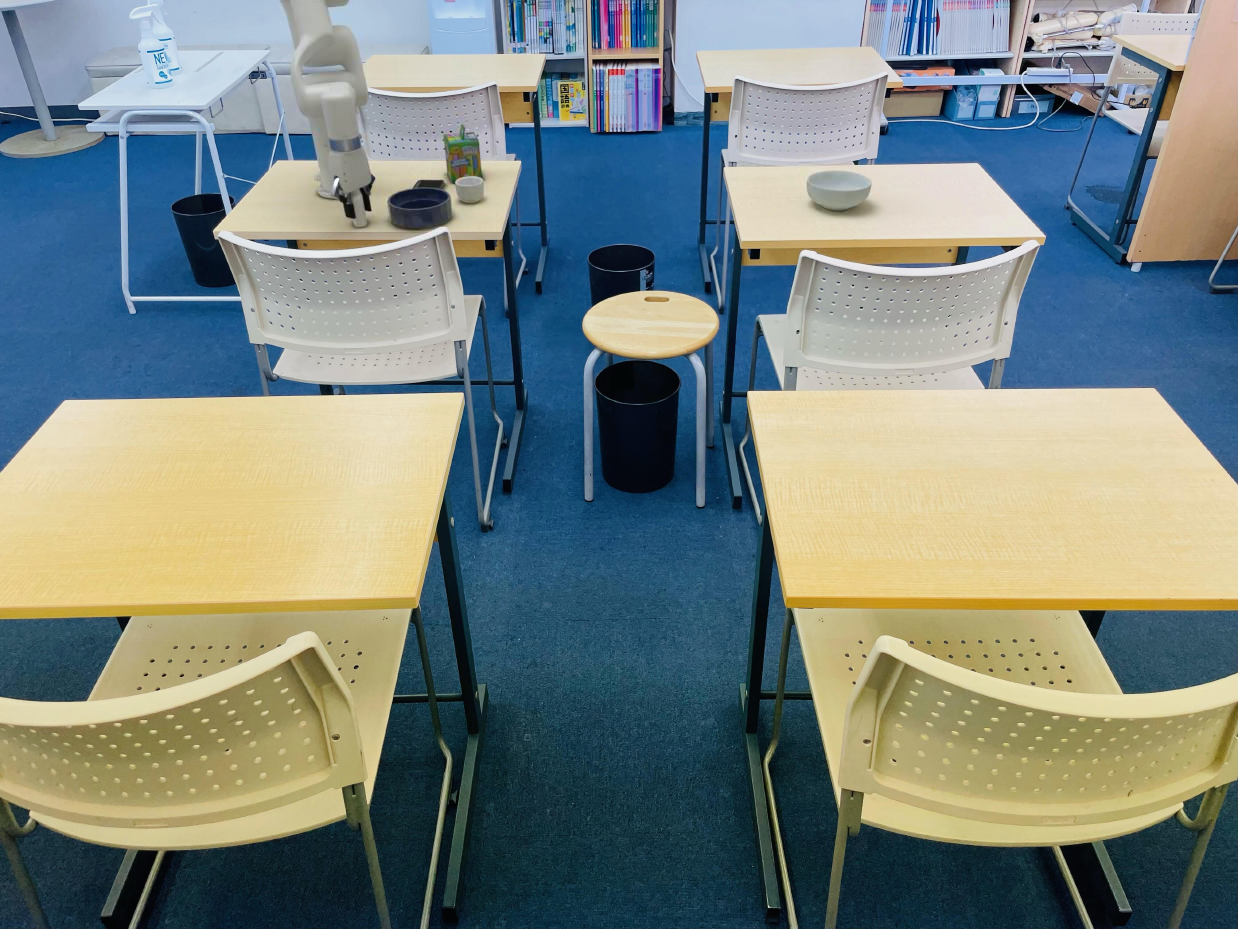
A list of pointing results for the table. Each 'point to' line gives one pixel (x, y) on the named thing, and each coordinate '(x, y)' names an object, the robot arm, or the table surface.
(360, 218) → the eye dropper bottle
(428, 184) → the phone
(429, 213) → the bowl
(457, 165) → the chalk box
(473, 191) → the teacup
